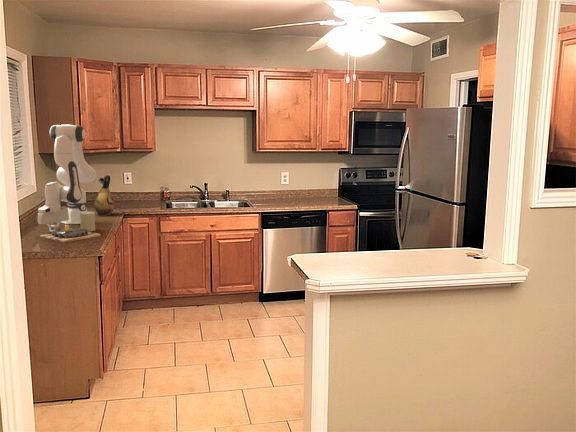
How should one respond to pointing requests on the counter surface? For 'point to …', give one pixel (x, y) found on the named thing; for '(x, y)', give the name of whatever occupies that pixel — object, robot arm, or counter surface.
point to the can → (87, 220)
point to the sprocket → (69, 232)
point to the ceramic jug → (104, 198)
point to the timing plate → (69, 239)
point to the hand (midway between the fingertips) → (54, 229)
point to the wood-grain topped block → (53, 228)
